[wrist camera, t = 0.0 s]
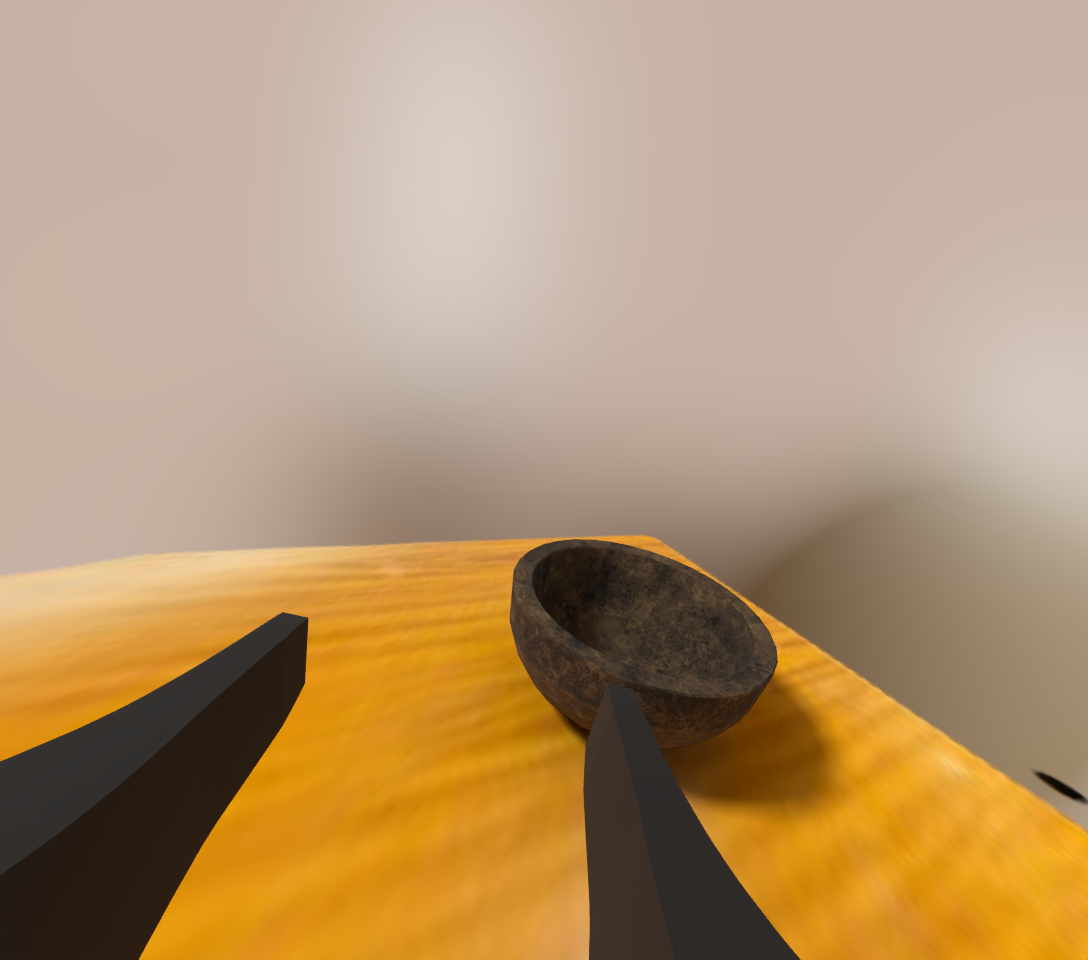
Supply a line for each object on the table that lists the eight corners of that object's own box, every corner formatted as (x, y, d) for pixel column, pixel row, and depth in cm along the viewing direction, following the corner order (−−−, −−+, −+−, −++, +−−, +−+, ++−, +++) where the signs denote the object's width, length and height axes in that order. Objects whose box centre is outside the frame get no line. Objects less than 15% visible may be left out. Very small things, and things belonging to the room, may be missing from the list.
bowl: (436, 705, 40) (458, 595, 37) (555, 598, 59) (576, 520, 56) (711, 877, 32) (768, 754, 29) (747, 689, 51) (784, 603, 48)
